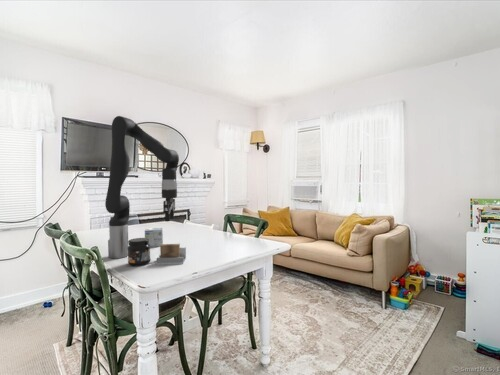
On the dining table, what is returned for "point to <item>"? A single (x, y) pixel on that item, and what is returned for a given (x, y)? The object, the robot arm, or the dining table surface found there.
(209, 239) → the dining table surface
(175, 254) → the brown rectangular block
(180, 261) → the grey channel holder
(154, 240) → the light bulb box
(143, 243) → the supplement container
